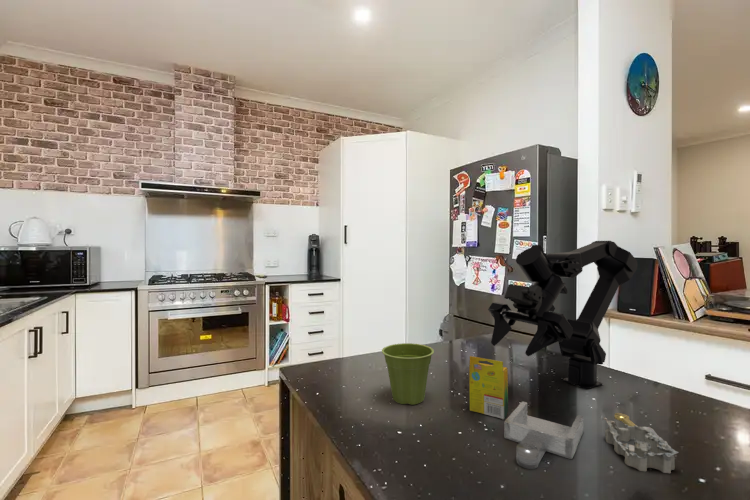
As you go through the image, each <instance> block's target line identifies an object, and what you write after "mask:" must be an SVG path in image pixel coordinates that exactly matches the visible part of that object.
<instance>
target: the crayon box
mask: <svg viewBox="0 0 750 500" xmlns="http://www.w3.org/2000/svg"><path fill="white" fill-rule="evenodd" d="M481 362H488V363H491V364H488V363H481ZM468 365H469V367H468V368H469V369H468V371H469V372H468V373H469V379H468V381H469V384H468V385H469V386H468V387H469V391H468V393H469V411H470V412H474V413H479V414H482V415H485V416H486V415H487V416H490V417H493V418H498V419H500V420H506V417H507V416H509V415H508V414H509V385H508V384H509V382H508V381H509V379H508V376H509V372H508V371H509V370H508V367H506V366H504V361H501V360H496V359H490V358H484V357H478V356H473V355H470V356H469V364H468Z"/></svg>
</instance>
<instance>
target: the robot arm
mask: <svg viewBox="0 0 750 500" xmlns="http://www.w3.org/2000/svg"><path fill="white" fill-rule="evenodd" d="M515 262H516V264H517V266H518V267H519V268H520V269H521V271H522V273H523V274H524V276H525V277H526V279H528V281H529V282H532V283H534V284H530V285H529V286H524V285H520V284H509V283H508V284H507V286H506V290H505V293H504V296H503V297H504V299H506V300H509V301H511V302H512V303H513V304H512V306H513V307H514V309H517V310H516V311H515V310H512V309H511V308H510V306H509V305H508V304H507V303H503V302H502V303H501V302H492V303H491V304H490V306H489V307H488V309H487V310H488V311H489V313H490V314H491V316H492V317H493V319H494V323H493V324H494V325H493V331H492V337H491V340H490V341H491V342H490V343H491V345H492V346H496V345H498V343H500V342H501V341H502V340H503V338H505V336H507V335H508V333H510V332H511V330H512V329H513V327H512V326H514V325H515V323H516V322H522V323H525V324H529V325H532V326H533V325H534V326H537V329H536V332H535V334H534V335H533V337H532V339H531V340H530V342H529V344H528V346H527V348H526V350H525V353H524V354H525V355H526V356H527V357H531V356H533V355H534V354H536V353H537V352H540V351H541V350H543V349H545V348H547V347H548V346H551V345H553V344H555V343H558V345H559V350H560V353H561V354H560V355H561V356H562V357H567V358H568V365H567V377H565V378H563V380H562V381H563V382H565V383H569V384H571V385H573V386H576V387H579V388H581V389H583V390H589V389H592V388H593V389H594V388H597V387H602V386H603V382H601V381H597V379H598V378H597V376H598V373H597V368H598V365H604V363H605V362H606V357H607V353H606V351H605V350H604V349H603V347H602V345H601V340H602V339H601V336H600V333H599V328H600V326H601V323H602V322H603V319H604V317H605V315H606V314H607V311H608V309H609V307H610V306H611V303H612V302H613V299H614V297H615V295H616V294H617V291H618V288H619V287H620V286H622V285H623V284H625V283H627V282H629V281H631V279H632V278H633V275H634V274H635V273H636V272H637V270H638V266H639V265H638V260H637V259H636V258H635V256H634V255H633V254H632V253H631V252H630V251H628V250H627V249H624V248H622V247H621V246H618V244H617V243H616V242H615V241H612V240H595V241H592V242H591V243H588V244H587V245H584V246H581V247H579V248H576V249H574V250H571V251H567V252H564V251H563V252H552V253H547V254H546V253H545V251H544V249H543V246H542V245H541V244H532V245H531V247H530V248H527V249H526V248H525V250H522V252H520V253H518V254H517V256H516V258H515ZM590 264H595V266H597V267H596V269H597V273H598V276H599V277H598V279H597V281H596V283H595V285H594V287H593V289H592V290H591V293H590V294H589V296H588V298H587V300H586V302H585V304H584V306H583V308H582V309H581V312H580V313H579V316H578V317H577V318H576V319H571V318H570V319H569V318H568V319H567V318H566V316H565V315H564V313H560V312H559V313H558V312H555V310H556V307H555V306H554V304H555V302H556V300H557V298H558V297H559V295H561V294H562V295H567V294H568V292H569V291H568V288H567V286H566V285H567V284H566V282H564V281H563V279H562V278H567V279H574V278H576V277H577V276H578V275H580V274H582V272H583V268H584V267H586V266H588V265H590Z"/></svg>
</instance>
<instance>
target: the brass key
mask: <svg viewBox="0 0 750 500" xmlns="http://www.w3.org/2000/svg"><path fill="white" fill-rule="evenodd" d="M614 419H615V420H617V421H619V422H622V423H623V424H624V425H625V424H627V425H628V426H631V427H633V426H635V425H636V426H638V425H637V424H635V423H634V422H633V421H632V420H630V416H629V415H627V414H625V413H621V412H615V413H614Z"/></svg>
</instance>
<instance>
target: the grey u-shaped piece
mask: <svg viewBox="0 0 750 500" xmlns="http://www.w3.org/2000/svg"><path fill="white" fill-rule="evenodd" d="M504 420H505V421H503V424H504V425H503V426H504V428H503V429H504V432H503V434H504V435H503V438H504V439H505V440H506V439H507V440H509V441H512V442H515V443H518V444H517V445H516V464H517V465H518V466H520V467H522V468H524V469H527V470H535V469H538V467H539V464H540V462H541V460H542V458H543V456H544V455H545V453H546V452H548V453H551V454H552V455H556V456H560V457H562V458H565V459H569V460H573V457H574V456H575V453H576V451H577V450H578V449H577V448H578V447H579V443H580V442H581V438H582V436H583V434H584V416H582V415H578V414H577V415H576V417H575V419H574V421H573V422H572V425H571V426H568V425H565V424H560V423H557V422H554V421H550V420H546V419H543V418H539V417H535V416H531V415H528V402H526V401H521V402H520V403H519V404H518V405H517V407H516V408H515V409H514V410H513V411H512V412H511V413H510V415H508V417H507V418H505V419H504Z"/></svg>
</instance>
